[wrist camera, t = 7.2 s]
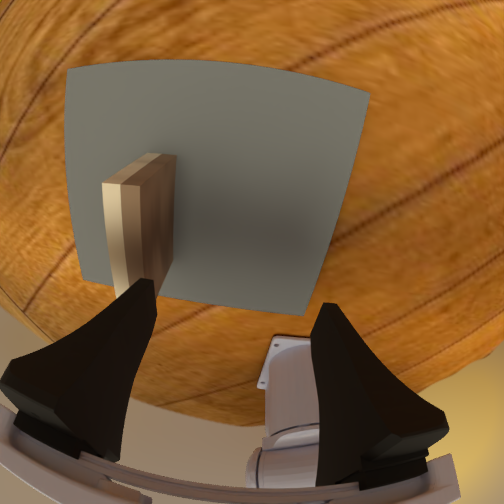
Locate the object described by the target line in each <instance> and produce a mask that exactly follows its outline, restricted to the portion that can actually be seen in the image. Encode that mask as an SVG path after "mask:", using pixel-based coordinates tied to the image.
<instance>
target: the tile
mask: <svg viewBox="0 0 504 504" xmlns="http://www.w3.org/2000/svg"><path fill="white" fill-rule="evenodd" d="M176 158H177V155H170V154H158V153H146V154H145V155H143V156H142V157H140V158H138V159H137V160H135V161H134V162H132V163H131V164H129V165H127V166H126V167H124V168H123V169H121V170H120V171H118V172H117V173H115V174H114V175H113V176H111V177H110V178H108V179H107V180H105V181H104V182H102V193H103V207H104V218H105V228H106V236H107V244H108V252H109V259H110V265H111V271H112V277H113V283H114V288H115V293H116V298H118V297H119V296H120V295H121V294H123V293H124V292H125V291H126V290H127V289H128V288H129V287H130V286H131V285H133V284H134V283H135V282H136V281H137V280H138V279H140V278H145V279H151V280H154V288H155V298H157V296H158V294H159V291H160V289H161V287H162V284H163V282H164V280H165V278H166V275H167V273H168V271H169V269H170V266H171V264H172V262H173V223H174V193H175V174H176Z"/></svg>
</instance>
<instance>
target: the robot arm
mask: <svg viewBox="0 0 504 504" xmlns="http://www.w3.org/2000/svg"><path fill="white" fill-rule="evenodd" d="M156 317H157V308H156V298H155V288H154V280H151V279H145V278H140V279H138V280H137V281H136V282H135V283H134V284H133V285H131V286H130V287H129V288H128V289H127V290H126V291H125V292H124V293H123V294H121V295H120V296H119V297H118V298H117V299H116V300H115V301H113V302H112V303H111V304H110V305H109V306H108V307H106V308H105V309H104V310H103V311H101V312H100V313H99V314H98V315H96V316H95V317H94V318H93V319H91V320H90V321H89V322H87V323H86V324H84V325H83V326H81V327H80V328H78V329H77V330H75V331H74V332H72V333H71V334H69V335H67V336H65V337H64V338H62V339H60V340H58V341H56V342H55V343H53V344H51V345H49V346H46V347H44V348H42V349H40V350H38V351H35V352H33V353H30V354H28V355H25V356H22V357H19V358H16V359H12V360H11V361H10V363H9V365H8V367H7V369H6V370H5V372H4V374H3V376H2V377H1V380H0V389H1V391H2V392H3V393H4V395H5V396H6V397H8V399H9V400H10V401H11V402H12V403H13V404H14V405H15V406H16V407H17V408H18V409H19V411H18V413H17V415H16V414H15V413H14V412H12V411H11V410H10V409H8V408H6V407H5V406H3V405H2V404H0V464H1V465H2V466H3V467H5V468H6V469H7V470H9V471H10V472H11V473H12V474H14V475H15V476H17V477H18V478H19V479H21V480H22V481H24V482H25V483H26V484H28V485H29V486H31V487H32V488H34V489H35V490H37V491H39V492H40V493H42V494H44V495H45V496H47V497H48V498H50V499H52V500H53V501H55V502H57V503H59V504H152V498H151V497H148V496H146V495H143V494H141V493H140V492H139V491H136V490H134V489H131V488H128V487H125V486H122V485H120V484H117V483H114V482H112V481H111V479H113V480H116V481H119V482H122V483H125V484H128V485H132V486H135V487H139V488H142V489H146V490H150V491H154V492H158V493H162V494H167V495H172V496H177V497H182V498H188V499H195V500H201V501H209V502H218V503H227V504H450V503H452V502H454V501H456V500H458V499H460V497H461V495H460V490H459V485H458V480H457V476H456V471H455V467H454V463H453V459H452V455H451V454H450V453H449V454H447V455H444V456H441V457H439V458H435V459H433V460H430V461H428V462H426V459H425V457H426V456H428V455H429V452H428V448H429V447H430V446H432V445H433V444H435V443H436V442H438V441H439V440H441V439H442V438H443V437H444V436H445V435H446V434H447V433H448V432H449V426H448V422H447V419H446V416H445V413H444V411H442V410H440V409H439V408H437V407H435V406H434V405H432V404H430V403H429V402H427V401H425V400H424V399H423V398H421V397H420V396H419V395H417V394H416V393H414V392H413V391H412V390H411V389H409V388H408V387H407V386H406V385H405V384H403V383H402V382H401V381H400V380H399V379H398V378H397V377H396V376H395V375H393V374H392V373H391V372H390V371H389V370H388V369H387V367H386V366H385V365H384V364H383V363H382V362H381V361H380V360H379V359H378V358H377V357H376V356H375V354H374V353H373V352H372V351H371V350H370V348H369V347H368V346H367V345H366V343H365V342H364V341H363V340H362V338H361V337H360V336H359V334H358V333H357V331H356V330H355V329H354V327H353V326H352V325H351V323H350V322H349V320H348V319H347V318H346V316H345V315H344V313H343V312H342V311H341V309H340V308H339V306H338V305H337V304H334V303H324V302H323V305H322V307H321V310H320V312H319V315H318V317H317V319H316V322H315V324H314V327H313V329H312V331H311V334H310V338H298V337H287V336H274V337H273V338H272V341H271V344H270V347H269V350H268V353H267V356H266V359H265V362H264V365H263V368H262V371H261V374H260V377H259V380H258V383H257V388H259V389H265V431H266V435H267V437H264V438H262V447H259V448H257V449H255V451H254V452H253V454H252V455H251V456H250V458H249V460H248V462H247V467H246V487H247V488H243V487H229V486H219V485H211V484H203V483H196V482H190V481H184V480H179V479H173V478H169V477H164V476H160V475H155V474H151V473H147V472H144V471H140V470H136V469H133V468H129V467H126V466H123V465H120V464H116V463H115V462H117V461H119V460H120V452H121V442H122V434H123V428H124V421H125V416H126V411H127V406H128V402H129V397H130V393H131V389H132V385H133V382H134V378H135V375H136V373H137V370H138V368H139V365H140V363H141V360H142V358H143V355H144V353H145V350H146V348H147V345H148V343H149V340H150V338H151V335H152V332H153V328H154V325H155V321H156ZM109 478H110V479H109Z"/></svg>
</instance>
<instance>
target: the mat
mask: <svg viewBox="0 0 504 504" xmlns="http://www.w3.org/2000/svg"><path fill="white" fill-rule="evenodd" d="M369 98H370V93H369V92H366V91H363V90H360V89H356V88H353V87H350V86H347V85H343V84H340V83H336V82H333V81H329V80H325V79H321V78H317V77H313V76H309V75H304V74H300V73H295V72H290V71H285V70H280V69H274V68H268V67H262V66H255V65H247V64H239V63H229V62H218V61H203V60H139V61H125V62H114V63H105V64H97V65H89V66H83V67H77V68H71V69H68V70H67V80H66V94H65V124H64V132H65V163H66V177H67V188H68V197H69V206H70V213H71V220H72V226H73V232H74V238H75V244H76V249H77V254H78V259H79V263H80V268H81V272H82V276H83V280H87V281H91V282H95V283H100V284H104V285H109V286H114V283H113V277H112V271H111V265H110V259H109V252H108V244H107V236H106V228H105V218H104V207H103V193H102V182H104V181H105V180H107V179H108V178H110V177H111V176H113V175H114V174H115V173H117V172H118V171H120V170H121V169H123V168H124V167H126V166H127V165H129V164H131V163H132V162H134V161H135V160H137V159H138V158H140V157H142V156H143V155H145V154H146V153H158V154H170V155H177V158H176V174H175V193H174V223H173V262H172V264H171V266H170V269H169V271H168V273H167V275H166V278H165V280H164V282H163V284H162V287H161V289H160V291H159V294H158V295H159V296H165V297H171V298H176V299H182V300H188V301H194V302H200V303H207V304H213V305H220V306H227V307H234V308H241V309H248V310H256V311H264V312H272V313H280V314H289V315H298V316H304V314H305V311H306V309H307V306H308V303H309V301H310V298H311V295H312V293H313V290H314V287H315V284H316V282H317V279H318V276H319V273H320V270H321V267H322V265H323V262H324V259H325V256H326V253H327V250H328V247H329V244H330V241H331V238H332V235H333V232H334V229H335V225H336V222H337V219H338V216H339V213H340V209H341V206H342V203H343V199H344V196H345V193H346V189H347V186H348V182H349V179H350V175H351V171H352V168H353V164H354V160H355V156H356V153H357V149H358V145H359V141H360V137H361V133H362V129H363V124H364V120H365V116H366V111H367V107H368V102H369Z"/></svg>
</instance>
